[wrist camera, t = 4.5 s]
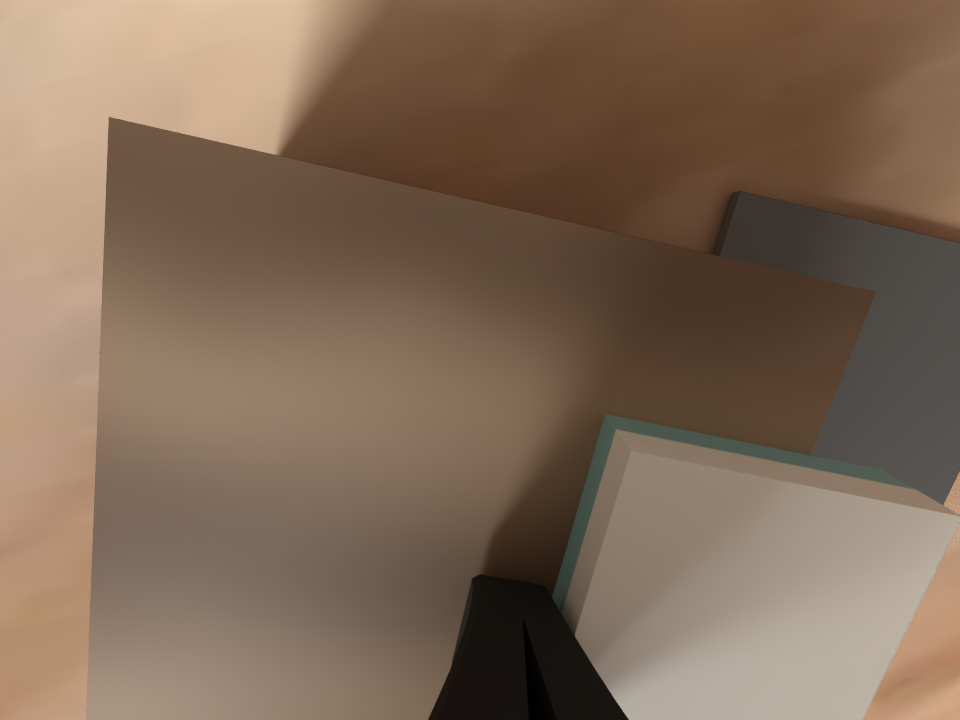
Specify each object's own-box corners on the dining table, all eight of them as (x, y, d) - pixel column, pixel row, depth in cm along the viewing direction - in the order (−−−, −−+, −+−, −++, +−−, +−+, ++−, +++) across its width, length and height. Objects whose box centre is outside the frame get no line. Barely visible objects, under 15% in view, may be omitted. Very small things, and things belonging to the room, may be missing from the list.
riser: (577, 676, 17) (628, 902, 11) (221, 614, 16) (82, 822, 11) (708, 267, 14) (876, 291, 8) (270, 167, 13) (108, 116, 7)
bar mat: (805, 763, 18) (812, 774, 18) (562, 722, 18) (564, 733, 17) (1042, 265, 14) (1058, 266, 14) (732, 192, 13) (740, 191, 13)
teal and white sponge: (732, 810, 11) (772, 900, 9) (501, 772, 10) (505, 860, 9) (882, 469, 9) (962, 517, 7) (605, 413, 9) (631, 450, 7)
